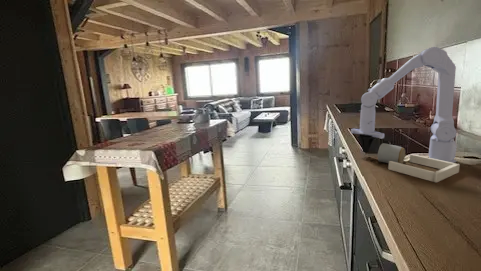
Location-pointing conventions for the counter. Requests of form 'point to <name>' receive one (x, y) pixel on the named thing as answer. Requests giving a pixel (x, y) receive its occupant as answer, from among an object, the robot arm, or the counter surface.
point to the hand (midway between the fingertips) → (365, 151)
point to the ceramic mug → (391, 153)
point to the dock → (437, 176)
